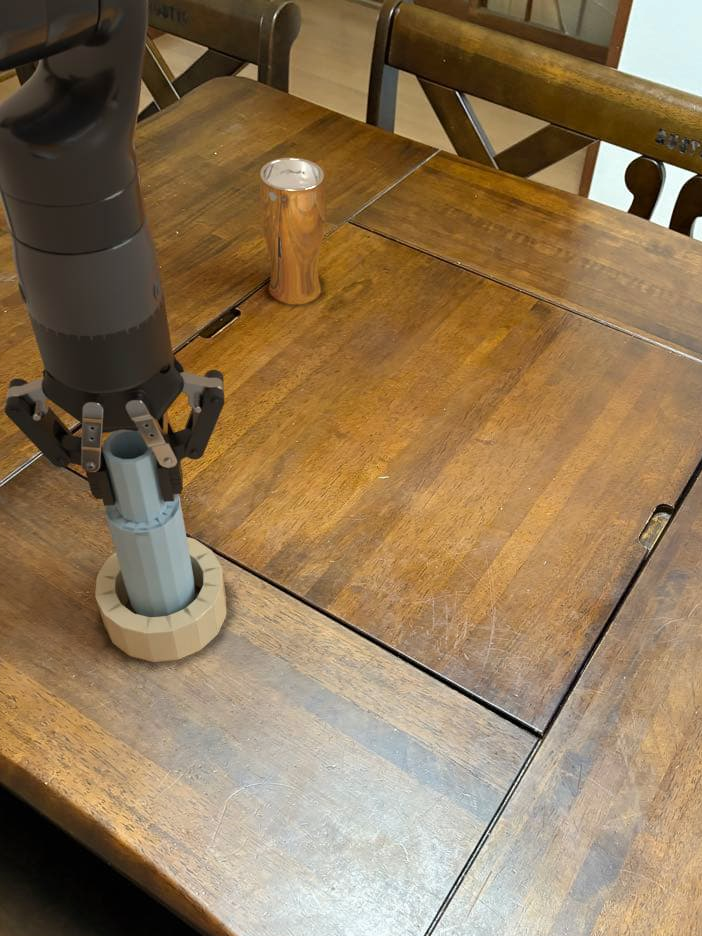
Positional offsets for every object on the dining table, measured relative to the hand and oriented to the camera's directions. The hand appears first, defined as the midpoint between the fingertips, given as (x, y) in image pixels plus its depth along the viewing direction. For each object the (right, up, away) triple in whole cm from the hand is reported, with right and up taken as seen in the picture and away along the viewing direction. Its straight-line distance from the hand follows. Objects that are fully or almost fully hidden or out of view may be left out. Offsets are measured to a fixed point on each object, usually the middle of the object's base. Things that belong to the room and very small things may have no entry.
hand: (139, 494), depth 65 cm
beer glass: (+6, +25, +41) cm, 49 cm away
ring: (-1, -10, +12) cm, 15 cm away
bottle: (-1, -8, +9) cm, 12 cm away
